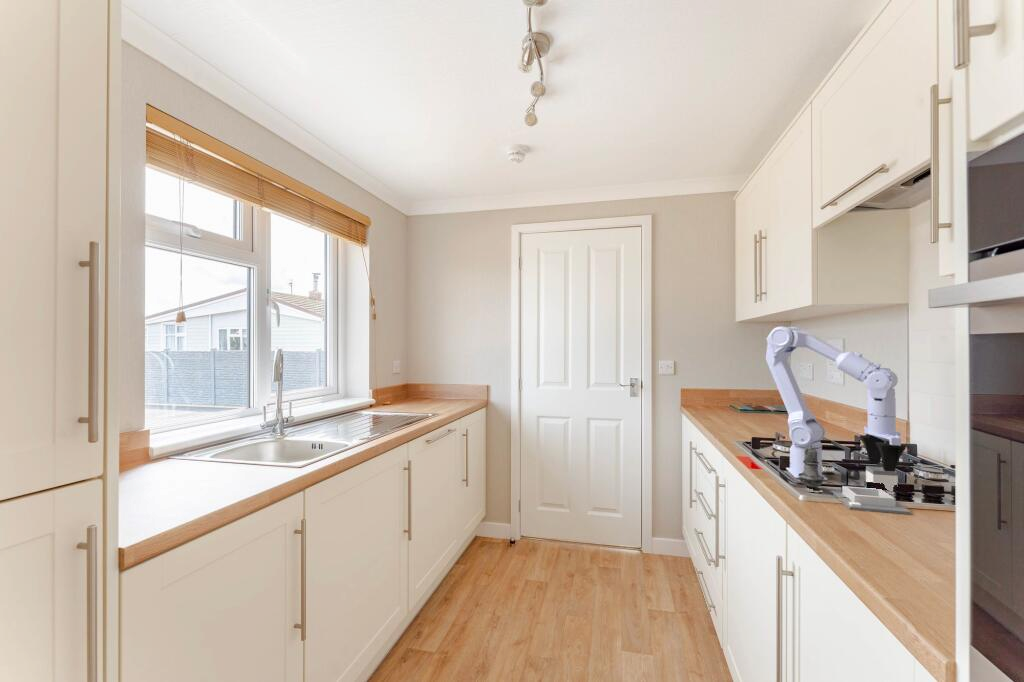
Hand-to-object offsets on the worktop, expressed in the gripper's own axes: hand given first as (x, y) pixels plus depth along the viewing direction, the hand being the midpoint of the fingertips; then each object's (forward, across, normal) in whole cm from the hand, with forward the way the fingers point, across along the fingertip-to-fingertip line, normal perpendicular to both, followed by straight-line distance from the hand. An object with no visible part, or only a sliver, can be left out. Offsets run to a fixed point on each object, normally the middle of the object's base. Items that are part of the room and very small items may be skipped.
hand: (881, 466), depth 118 cm
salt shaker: (+7, -3, +17) cm, 19 cm away
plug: (+7, 0, 0) cm, 7 cm away
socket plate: (+6, -10, +7) cm, 14 cm away
